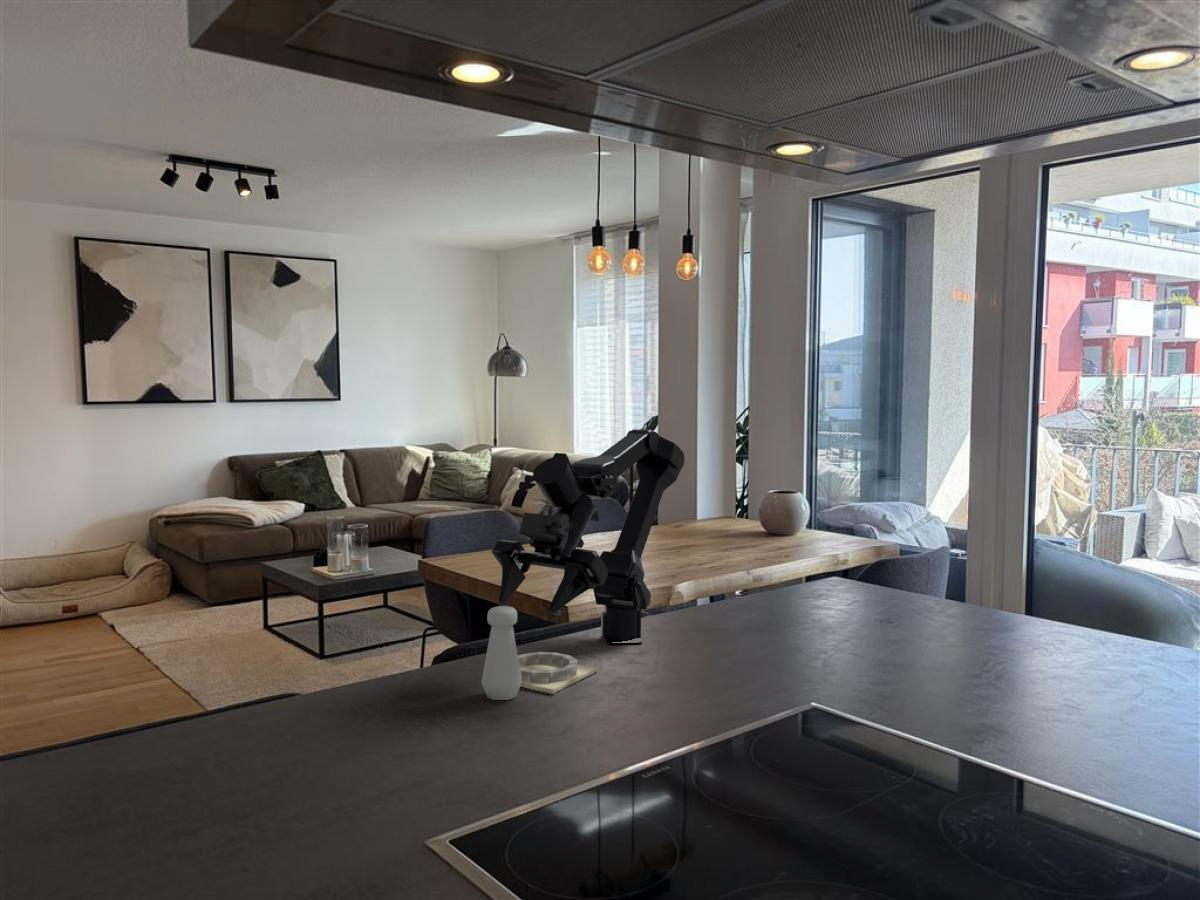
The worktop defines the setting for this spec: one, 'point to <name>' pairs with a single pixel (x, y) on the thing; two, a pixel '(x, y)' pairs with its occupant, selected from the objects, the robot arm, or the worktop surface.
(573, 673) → the ring stand
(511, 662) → the salt shaker
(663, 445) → the robot arm
